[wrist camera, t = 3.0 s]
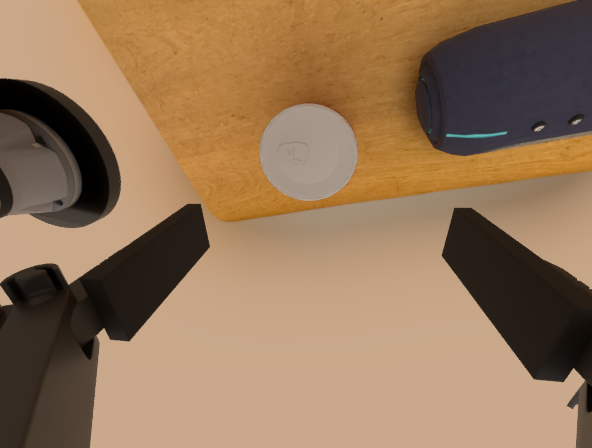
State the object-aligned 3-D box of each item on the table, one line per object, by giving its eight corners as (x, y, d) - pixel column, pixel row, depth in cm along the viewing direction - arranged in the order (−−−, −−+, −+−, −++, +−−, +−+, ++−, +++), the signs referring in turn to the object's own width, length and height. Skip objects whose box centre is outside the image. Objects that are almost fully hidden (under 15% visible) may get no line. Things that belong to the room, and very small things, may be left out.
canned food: (277, 109, 28) (248, 111, 19) (347, 98, 27) (357, 94, 17) (287, 174, 32) (268, 205, 22) (350, 167, 30) (360, 197, 20)
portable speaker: (404, 153, 29) (438, 175, 20) (402, 54, 25) (442, 24, 16) (679, 103, 24) (891, 102, 15) (732, -32, 20) (1067, -146, 11)
